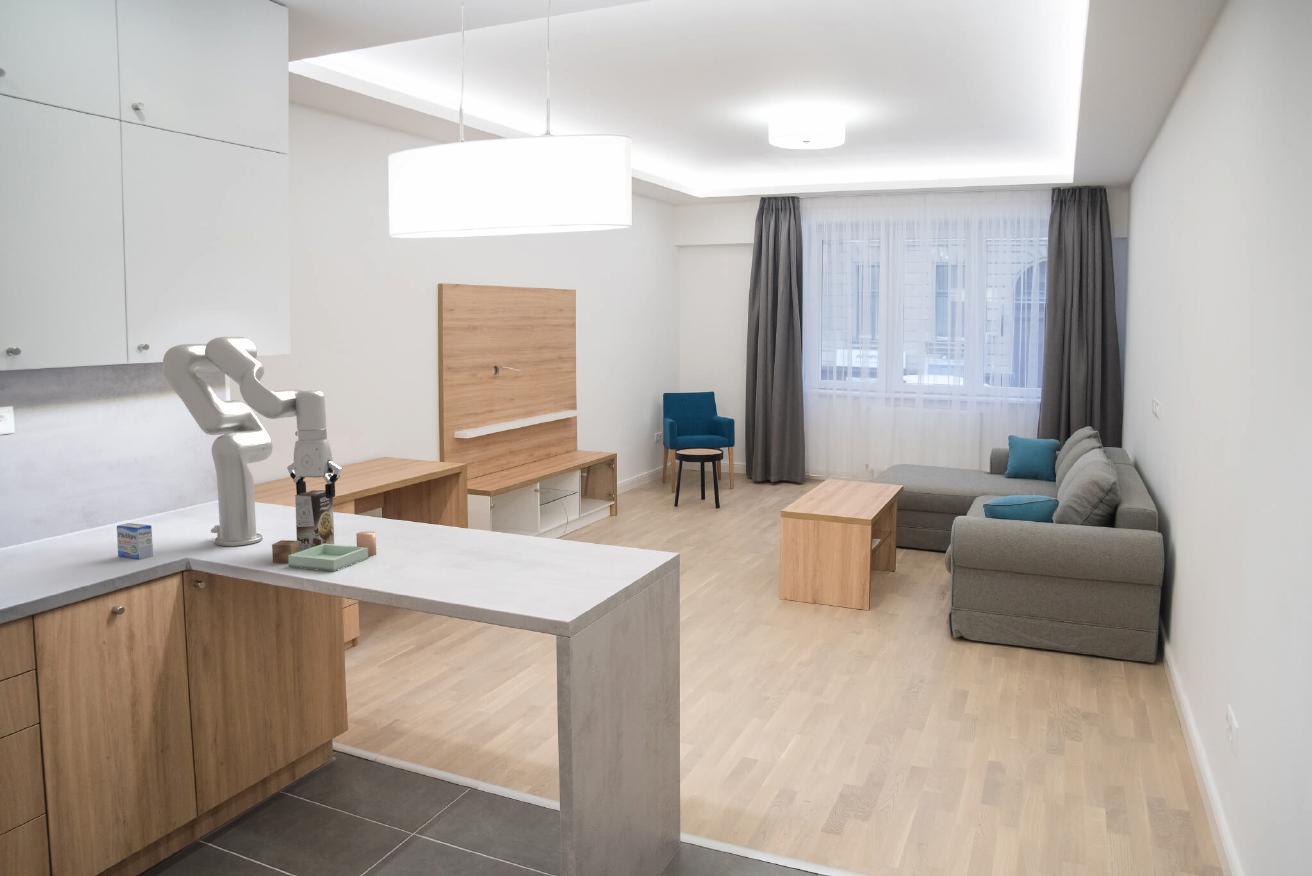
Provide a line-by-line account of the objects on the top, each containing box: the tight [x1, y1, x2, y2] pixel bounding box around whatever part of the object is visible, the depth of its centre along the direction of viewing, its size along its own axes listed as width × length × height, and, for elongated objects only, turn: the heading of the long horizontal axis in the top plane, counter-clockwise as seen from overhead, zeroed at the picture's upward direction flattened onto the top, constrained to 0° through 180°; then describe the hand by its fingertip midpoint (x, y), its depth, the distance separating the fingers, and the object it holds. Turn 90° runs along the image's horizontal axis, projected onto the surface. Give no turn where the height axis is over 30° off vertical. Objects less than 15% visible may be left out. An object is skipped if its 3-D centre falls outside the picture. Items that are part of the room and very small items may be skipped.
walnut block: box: [271, 539, 300, 564], centre depth 239 cm, size 5×5×5 cm
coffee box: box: [294, 489, 335, 551], centre depth 251 cm, size 9×6×16 cm
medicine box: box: [116, 522, 154, 560], centre depth 243 cm, size 8×4×9 cm, turn 70°
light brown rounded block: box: [356, 530, 377, 558], centre depth 246 cm, size 5×5×6 cm
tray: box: [288, 543, 369, 572], centre depth 238 cm, size 14×14×3 cm
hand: (316, 496), depth 250 cm, fingers open, 9 cm apart
